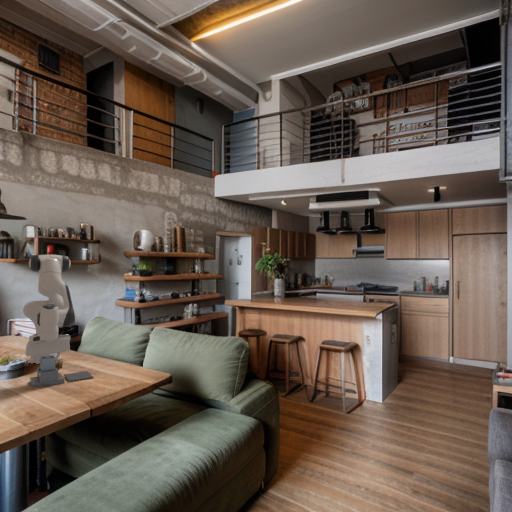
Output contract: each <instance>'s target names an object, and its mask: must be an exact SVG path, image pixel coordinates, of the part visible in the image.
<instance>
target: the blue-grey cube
mask: <svg viewBox="0 0 512 512" xmlns="http://www.w3.org/2000/svg"><path fill="white" fill-rule="evenodd" d="M41 360H42V361H41V362H42V363H40V364H39V367H40V369H41V370H42V371H45V370H52V369H55V362H56V361H55V356H54V355H52V356H51V358H45V356H44V357H41Z"/></svg>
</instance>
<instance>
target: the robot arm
mask: <svg viewBox="0 0 512 512" xmlns="http://www.w3.org/2000/svg"><path fill="white" fill-rule="evenodd" d="M71 262H72V261H71V259H70V257H69V256H67V255H61V254H52V253H51V254H34V255H32V256H31V257H30V258H29V260H28V267H29V269H30V271H32V272H36V273H38V272H39V274H38V284H37V285H38V286H37V288H38V289H37V292H38V293H39V294H40V295H42V296H44V297H47V300H33V301H29V302H26V303H25V305H24V306H23V308H22V313H23V316H25V318H28V319H29V320H30V321H31V322H32V323H33V324H34V328H35V333H34V334H32V335H29V336H28V341H27V343H26V346H25V352H24V353H25V356H27V357H29V359H28V361H27V364H29V363H31V364H33V363H36V364H35V365H40V363H42V362H41V361H42V360H41V357H44V356H52V355H54V356H55V362H59V361H61V360H62V357H61V353H66V352H69V351H70V350H71V345H70V342H71V337H72V336H71V335H69V334H67V333H65V334H59V329H60V328H59V327H62V328H64V327H67V328H68V327H72V326H73V325H74V324H75V322H76V316H77V315H76V312H75V310H74V307H73V302H72V297H71V292H70V289H69V285H68V284H67V283H66V282H64V280H63V278H62V274H63V273H66V272H67V271H69V269H70V268H71V265H72V264H71Z"/></svg>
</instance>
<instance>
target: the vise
mask: <svg viewBox="0 0 512 512" xmlns="http://www.w3.org/2000/svg"><path fill="white" fill-rule="evenodd" d="M45 358H51V356H45ZM36 369H37V371H36V376H32V377H30V378H29V382H30V385H31V384H32V385H31V388H32V389H35V388H34V387H37V388H41V387H40V386H43V387H47V386H46V385H49V386H53V384H55V385H60V383H61V384H65V380H66V378H65V377H64V375H62V373H60V372H59V368H56V366H55V369H52V370H45V371H42V370H41V369H40V366H37V368H36Z"/></svg>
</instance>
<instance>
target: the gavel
mask: <svg viewBox="0 0 512 512" xmlns="http://www.w3.org/2000/svg"><path fill="white" fill-rule="evenodd" d="M63 363H64V362H63V360H58V361H55V366H56V368H57V369H59V368H60V369H63Z"/></svg>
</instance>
